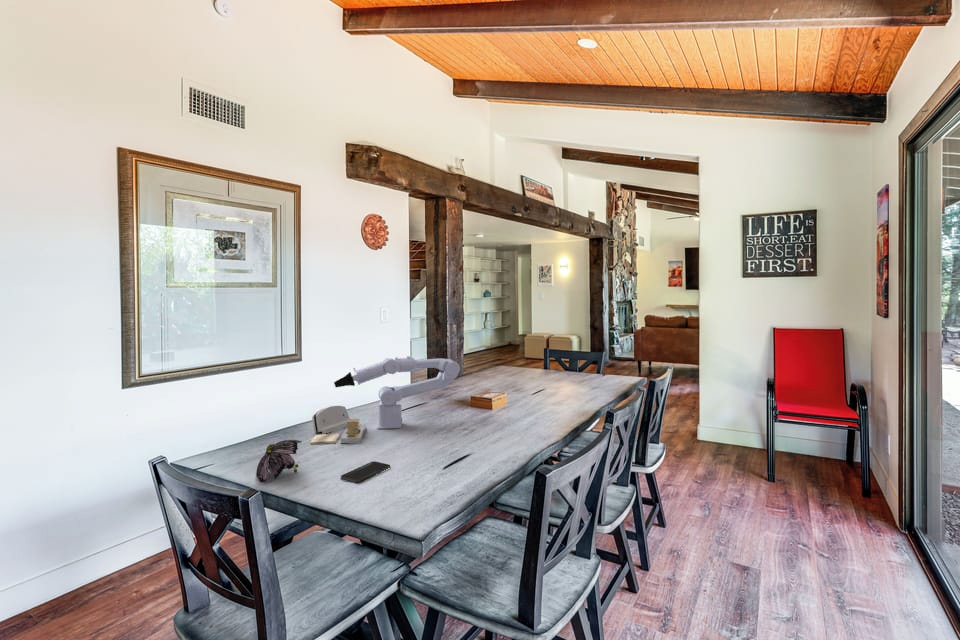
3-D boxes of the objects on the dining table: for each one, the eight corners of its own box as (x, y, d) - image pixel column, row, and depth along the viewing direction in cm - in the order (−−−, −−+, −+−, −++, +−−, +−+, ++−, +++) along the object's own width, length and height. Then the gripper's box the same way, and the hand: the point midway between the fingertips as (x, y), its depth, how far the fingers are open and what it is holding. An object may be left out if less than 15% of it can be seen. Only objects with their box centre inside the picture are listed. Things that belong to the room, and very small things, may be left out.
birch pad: (339, 435, 191) (339, 433, 191) (335, 443, 182) (335, 441, 182) (315, 436, 190) (315, 434, 190) (310, 444, 181) (310, 442, 181)
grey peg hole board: (365, 429, 200) (365, 423, 200) (360, 443, 182) (360, 437, 182) (348, 429, 199) (348, 424, 199) (340, 443, 181) (340, 438, 181)
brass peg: (359, 435, 192) (359, 418, 191) (358, 438, 188) (357, 421, 187) (349, 435, 191) (348, 419, 191) (347, 438, 187) (347, 421, 187)
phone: (339, 476, 148) (373, 460, 161) (339, 480, 148) (373, 464, 161) (358, 481, 144) (392, 465, 157) (358, 485, 145) (392, 468, 158)
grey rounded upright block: (322, 435, 192) (316, 410, 193) (315, 437, 195) (308, 412, 196) (354, 424, 207) (347, 401, 208) (346, 426, 209) (340, 403, 210)
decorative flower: (258, 438, 157) (302, 424, 156) (273, 467, 161) (317, 454, 160) (239, 466, 143) (288, 451, 143) (257, 497, 147) (305, 483, 147)
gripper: (365, 364, 207) (333, 375, 204) (365, 363, 193) (331, 375, 190) (370, 380, 207) (338, 391, 204) (371, 380, 193) (336, 392, 190)
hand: (335, 384), depth 197 cm, fingers open, 7 cm apart
